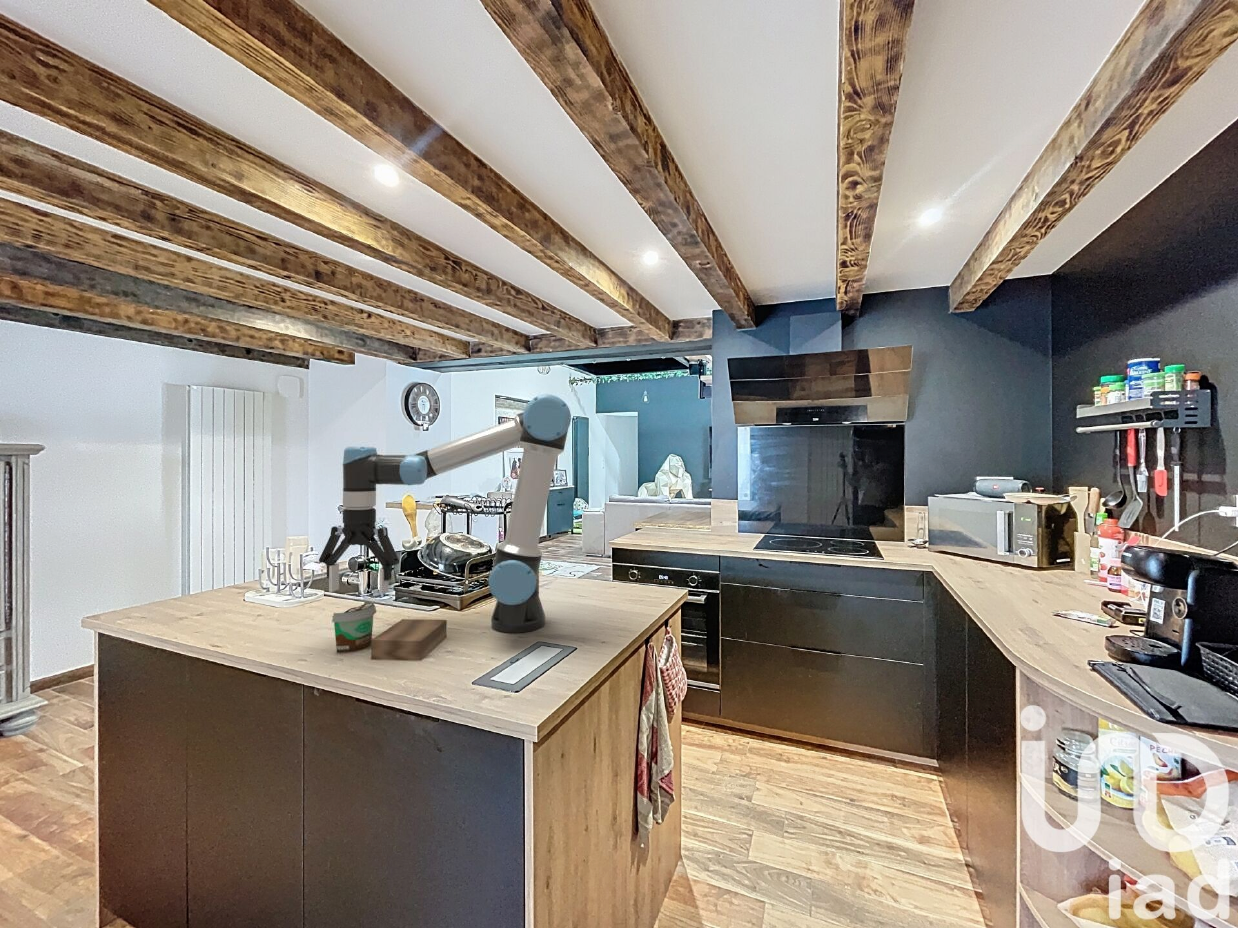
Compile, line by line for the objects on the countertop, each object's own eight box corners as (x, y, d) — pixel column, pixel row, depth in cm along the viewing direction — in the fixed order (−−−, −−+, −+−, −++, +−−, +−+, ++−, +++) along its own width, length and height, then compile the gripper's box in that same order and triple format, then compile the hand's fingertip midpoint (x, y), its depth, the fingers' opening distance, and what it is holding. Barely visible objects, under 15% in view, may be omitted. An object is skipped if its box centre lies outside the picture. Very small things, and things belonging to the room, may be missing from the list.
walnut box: (446, 638, 140) (446, 619, 140) (420, 661, 124) (420, 640, 124) (402, 637, 141) (402, 619, 141) (371, 660, 125) (371, 639, 125)
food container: (354, 656, 126) (354, 615, 126) (332, 654, 128) (331, 613, 127) (387, 638, 138) (386, 601, 138) (366, 637, 140) (366, 599, 139)
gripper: (413, 507, 135) (413, 590, 135) (324, 505, 138) (323, 585, 138) (397, 510, 127) (397, 598, 127) (303, 507, 130) (302, 593, 131)
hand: (358, 591), depth 133 cm, fingers open, 13 cm apart
